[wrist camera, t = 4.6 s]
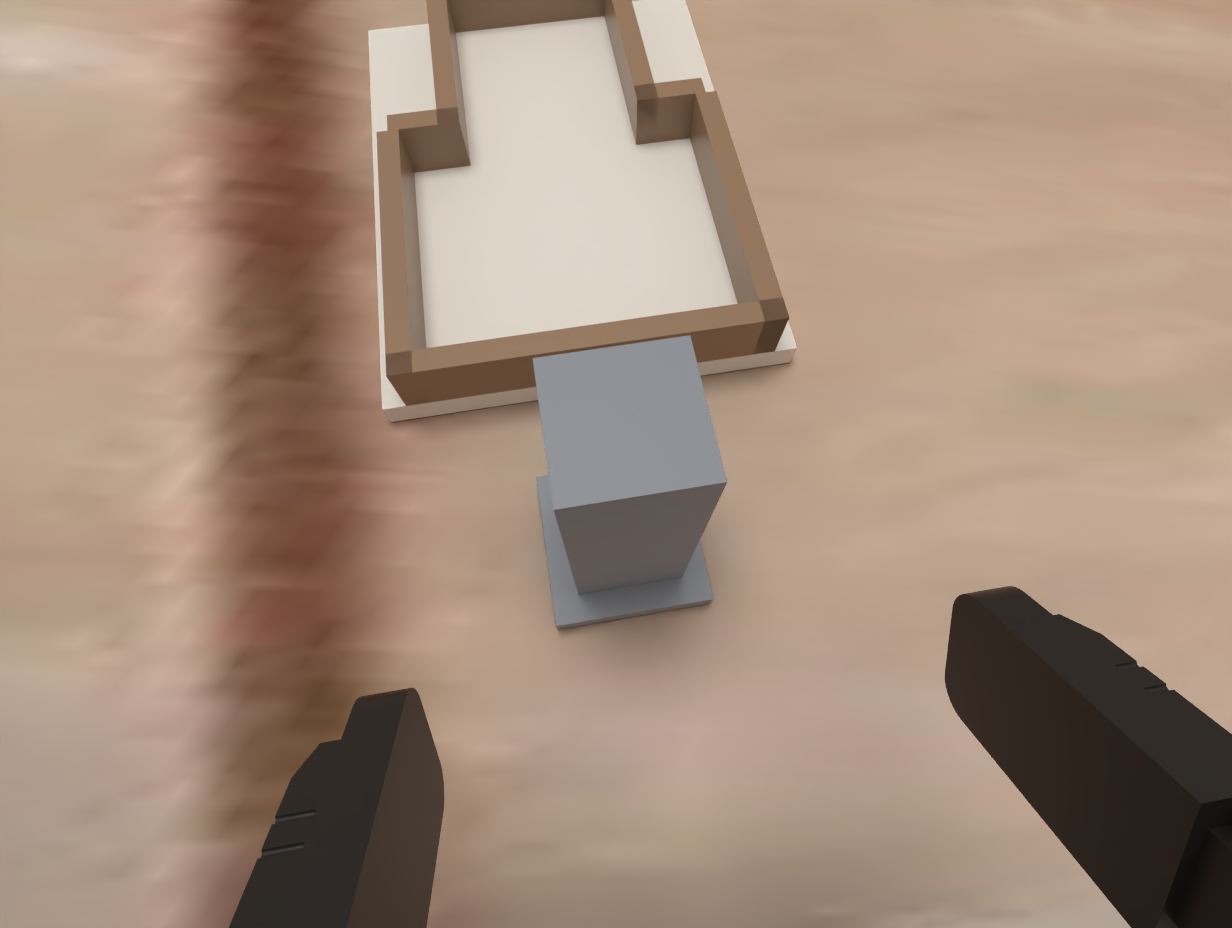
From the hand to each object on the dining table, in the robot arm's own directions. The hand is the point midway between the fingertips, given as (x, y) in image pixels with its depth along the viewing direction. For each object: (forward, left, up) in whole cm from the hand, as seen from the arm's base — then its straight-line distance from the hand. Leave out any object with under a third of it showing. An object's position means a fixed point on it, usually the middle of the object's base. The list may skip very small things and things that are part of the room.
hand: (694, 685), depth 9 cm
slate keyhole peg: (0, +6, -15) cm, 16 cm away
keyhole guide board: (0, +25, -15) cm, 29 cm away
